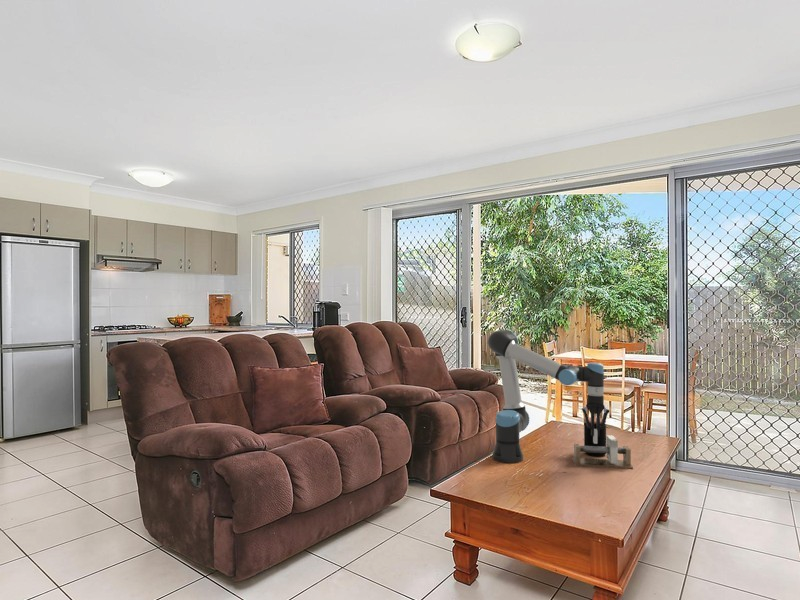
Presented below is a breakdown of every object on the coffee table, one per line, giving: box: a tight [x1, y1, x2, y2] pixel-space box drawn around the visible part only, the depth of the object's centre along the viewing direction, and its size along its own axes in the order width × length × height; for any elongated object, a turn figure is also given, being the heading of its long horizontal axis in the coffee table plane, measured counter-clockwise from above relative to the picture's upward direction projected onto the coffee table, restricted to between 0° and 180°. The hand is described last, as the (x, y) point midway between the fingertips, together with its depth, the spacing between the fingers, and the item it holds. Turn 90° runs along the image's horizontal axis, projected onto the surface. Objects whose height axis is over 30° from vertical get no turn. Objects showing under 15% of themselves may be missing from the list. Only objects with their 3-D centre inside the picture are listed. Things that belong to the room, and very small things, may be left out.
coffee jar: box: [583, 416, 607, 458], centre depth 265 cm, size 11×11×18 cm
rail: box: [572, 443, 634, 470], centre depth 248 cm, size 26×10×9 cm, turn 79°
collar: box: [606, 434, 619, 464], centre depth 247 cm, size 3×10×11 cm, turn 169°
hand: (595, 442), depth 249 cm, fingers closed
